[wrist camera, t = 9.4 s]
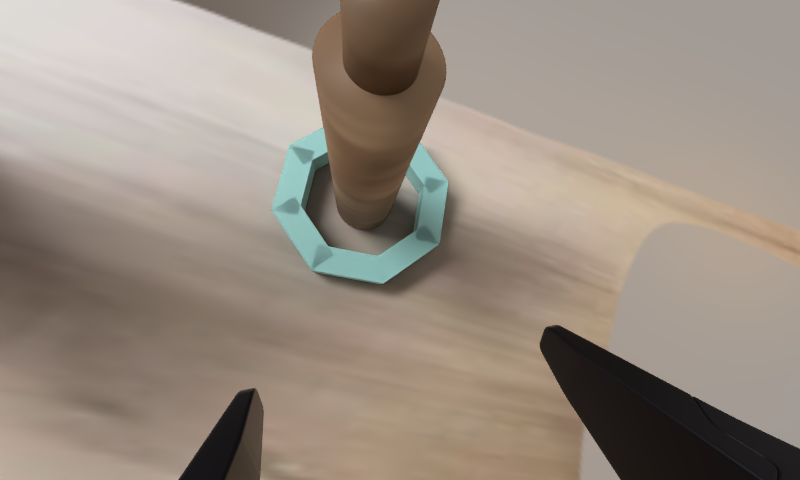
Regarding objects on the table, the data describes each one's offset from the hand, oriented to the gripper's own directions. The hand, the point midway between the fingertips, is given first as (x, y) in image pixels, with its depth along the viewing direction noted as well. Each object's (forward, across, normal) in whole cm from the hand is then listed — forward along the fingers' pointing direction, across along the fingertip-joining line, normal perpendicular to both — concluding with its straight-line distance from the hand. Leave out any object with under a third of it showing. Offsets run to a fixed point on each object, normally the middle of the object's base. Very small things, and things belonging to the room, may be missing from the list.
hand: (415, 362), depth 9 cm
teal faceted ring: (+12, 0, 0) cm, 12 cm away
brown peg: (+12, 0, 0) cm, 12 cm away
